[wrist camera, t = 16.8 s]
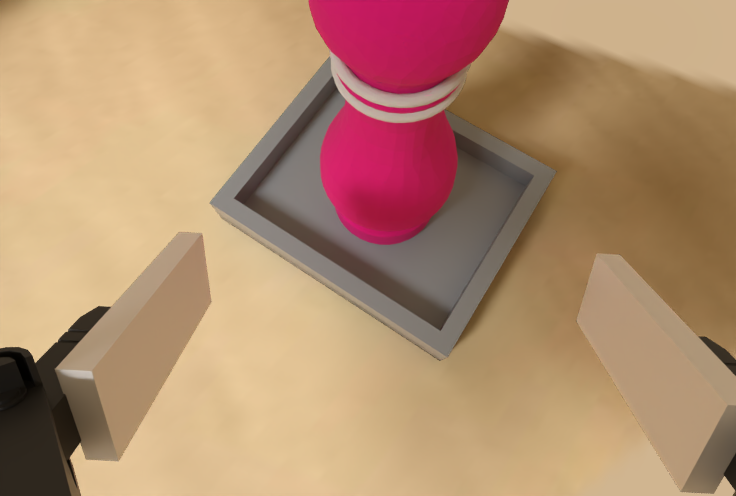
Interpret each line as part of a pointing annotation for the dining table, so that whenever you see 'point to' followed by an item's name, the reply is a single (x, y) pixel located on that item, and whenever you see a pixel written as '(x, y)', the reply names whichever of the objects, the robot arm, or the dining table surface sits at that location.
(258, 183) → the tray
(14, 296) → the dining table surface
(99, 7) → the dining table surface
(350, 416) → the dining table surface
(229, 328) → the dining table surface
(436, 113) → the pepper mill
